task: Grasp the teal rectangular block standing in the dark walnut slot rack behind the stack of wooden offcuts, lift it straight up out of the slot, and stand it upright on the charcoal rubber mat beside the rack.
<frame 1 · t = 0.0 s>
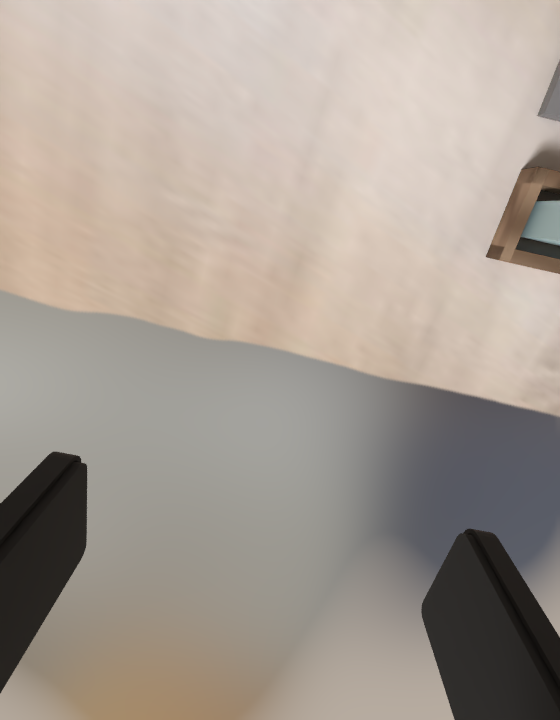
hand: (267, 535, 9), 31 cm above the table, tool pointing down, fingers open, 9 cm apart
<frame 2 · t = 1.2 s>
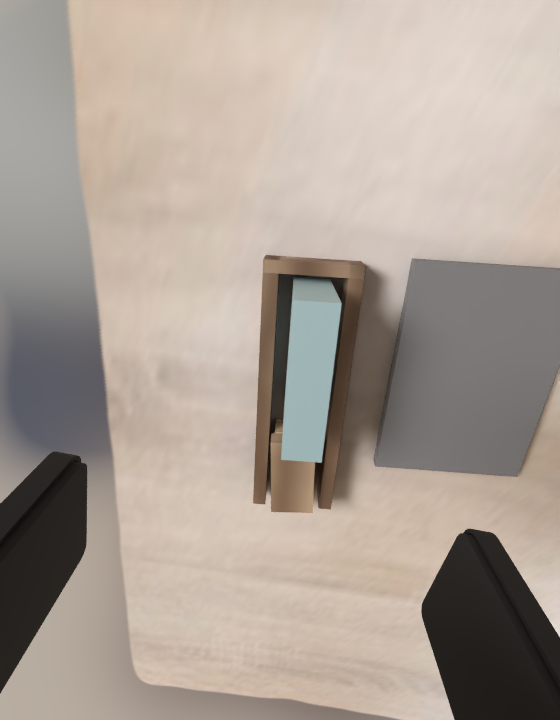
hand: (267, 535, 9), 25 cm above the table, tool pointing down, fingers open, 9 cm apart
mat: (467, 376, 34), on the table
teal rectangular block: (305, 343, 33), on the table
offcut top: (292, 468, 36), point 2 cm above the table, touching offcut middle
rack: (301, 383, 35), on the table
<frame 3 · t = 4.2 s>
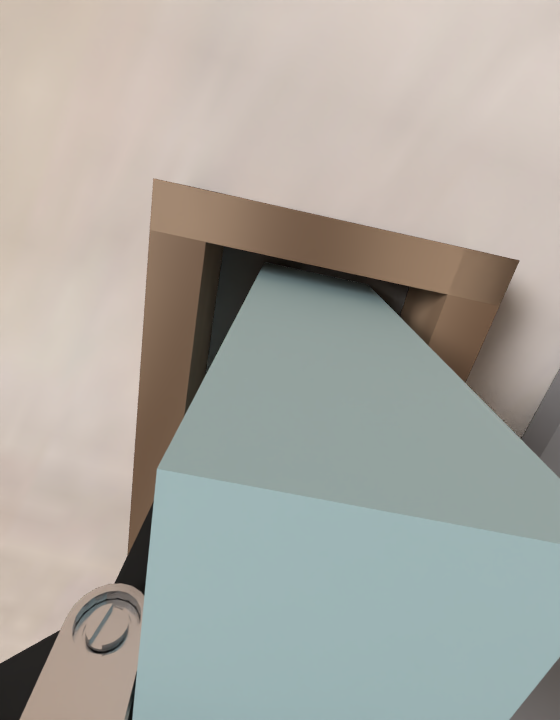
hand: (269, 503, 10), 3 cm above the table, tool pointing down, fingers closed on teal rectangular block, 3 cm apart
teal rectangular block: (274, 445, 13), on the table, touching gripper
rack: (254, 530, 14), on the table
when the fingers open (5 cm above the table, at t = 11.9 s): teal rectangular block stays where it is, resting on mat.
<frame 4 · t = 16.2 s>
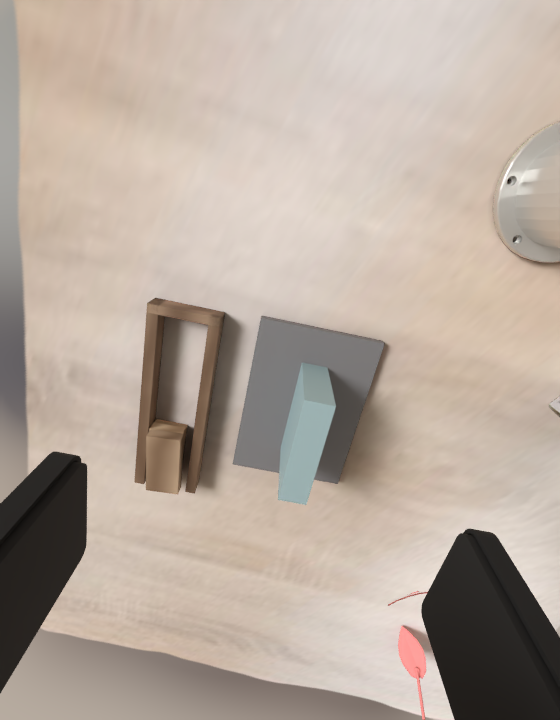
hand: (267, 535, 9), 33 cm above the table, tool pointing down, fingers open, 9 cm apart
mat: (302, 404, 46), on the table
teal rectangular block: (302, 409, 45), point 1 cm above the table, touching mat
figurine: (442, 621, 60), on the table
offcut top: (166, 458, 46), point 2 cm above the table, touching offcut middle
rack: (179, 394, 46), on the table
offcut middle: (167, 451, 48), point 1 cm above the table, touching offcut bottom, offcut top
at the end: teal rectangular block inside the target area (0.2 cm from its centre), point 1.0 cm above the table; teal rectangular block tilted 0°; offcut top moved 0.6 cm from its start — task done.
